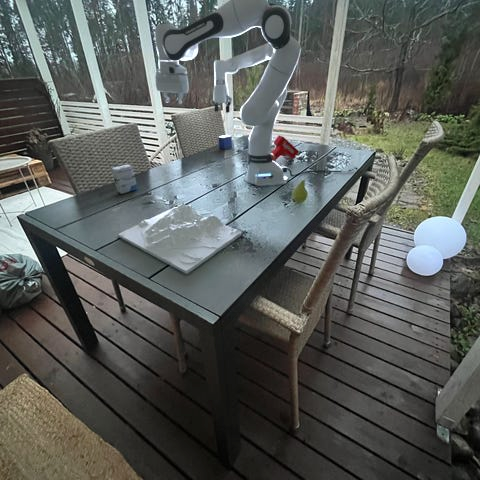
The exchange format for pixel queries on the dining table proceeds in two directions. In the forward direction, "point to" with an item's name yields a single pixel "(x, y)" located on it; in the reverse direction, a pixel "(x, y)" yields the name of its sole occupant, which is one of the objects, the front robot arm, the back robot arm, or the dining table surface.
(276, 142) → the red power drill
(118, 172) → the ink box
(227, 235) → the relief map
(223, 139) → the block
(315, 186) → the dining table surface
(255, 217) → the dining table surface
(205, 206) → the dining table surface
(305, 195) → the fruit
